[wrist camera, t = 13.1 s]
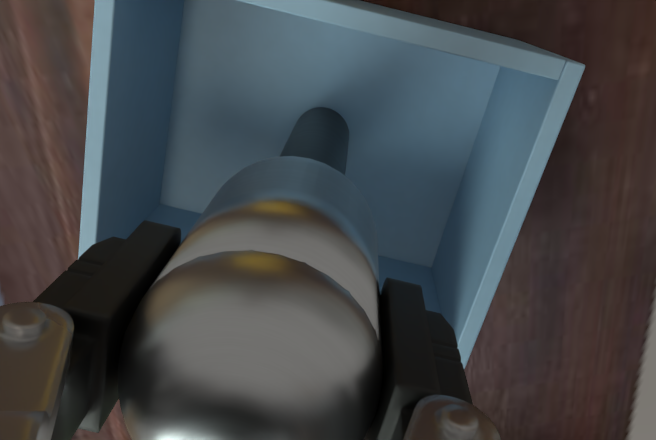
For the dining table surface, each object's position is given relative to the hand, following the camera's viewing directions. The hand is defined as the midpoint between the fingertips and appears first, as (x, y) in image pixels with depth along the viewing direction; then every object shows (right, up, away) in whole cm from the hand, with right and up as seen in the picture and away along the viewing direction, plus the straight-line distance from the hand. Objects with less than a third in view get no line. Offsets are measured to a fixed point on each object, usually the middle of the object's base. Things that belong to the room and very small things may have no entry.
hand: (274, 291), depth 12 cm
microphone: (+1, +5, +13) cm, 14 cm away
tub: (+1, +5, +13) cm, 14 cm away
